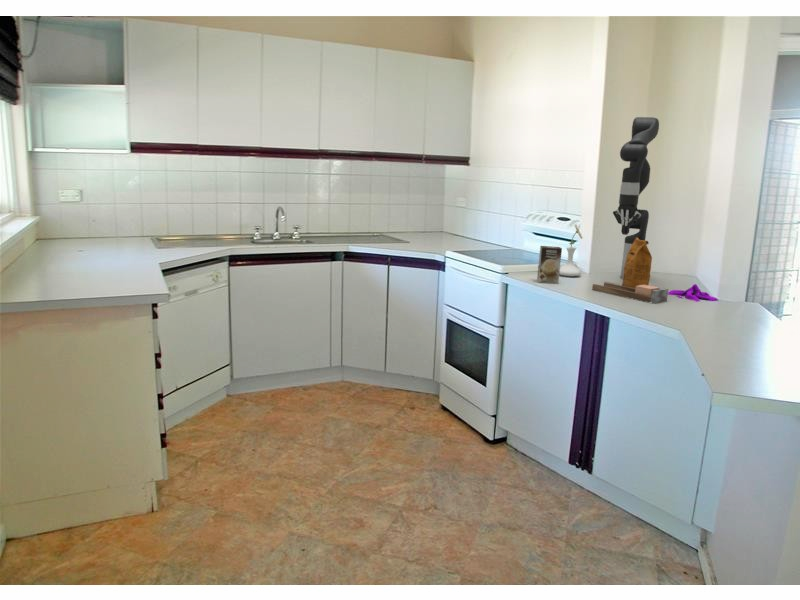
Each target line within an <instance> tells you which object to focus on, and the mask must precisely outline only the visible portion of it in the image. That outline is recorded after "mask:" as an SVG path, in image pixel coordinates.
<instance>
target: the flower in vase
mask: <svg viewBox="0 0 800 600" xmlns="http://www.w3.org/2000/svg"><path fill="white" fill-rule="evenodd" d="M574 227H575V233H574V234H573V235H572V238H571V241H570V242H569V245H570V246H566V247H565V248H566V250H567V261H566V263H565V264H563V265H562V266H560V272H559V276H560V275H561V276H565V277H577V276H580V275H581V274H582V271H581V270H580V269H579V268H578V267H577V266H576V265H575V264H574V261H573V259H574V253H575V250H577V247H575V246H573V245H575V241H574V237H575V235H576V234H578V236H579V238H580V239H583V236H582V233H581V232H580V229H579V227H578V225H577V223H575V224H574Z"/></svg>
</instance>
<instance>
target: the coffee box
mask: <svg viewBox="0 0 800 600" xmlns="http://www.w3.org/2000/svg"><path fill="white" fill-rule="evenodd" d="M562 250H563V248H562V247H560V246H553V245H552V246H547V245H540V248H539V256H538V265H537V267H538V269H537V277H536V280H537V282H538V283H547V284H559V281H560V274H559V272H560V267H561V262H562V260H561V259H562Z"/></svg>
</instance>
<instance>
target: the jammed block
mask: <svg viewBox="0 0 800 600" xmlns="http://www.w3.org/2000/svg"><path fill="white" fill-rule="evenodd" d="M658 289H660V287H658V286H653V285H639V286H636V289H635V293H640V294H644V295H649V296H651V293H652V291H653V290H658Z"/></svg>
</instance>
